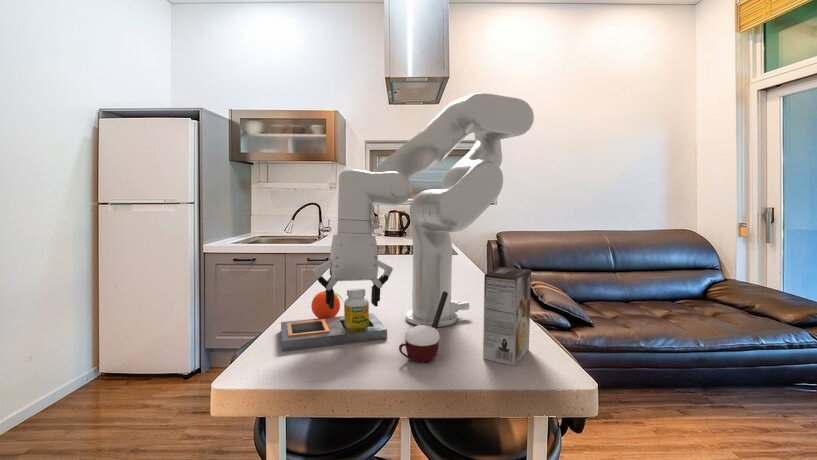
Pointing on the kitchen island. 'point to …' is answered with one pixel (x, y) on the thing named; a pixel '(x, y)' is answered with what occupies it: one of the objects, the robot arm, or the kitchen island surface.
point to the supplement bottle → (356, 309)
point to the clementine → (325, 306)
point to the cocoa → (424, 338)
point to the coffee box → (506, 315)
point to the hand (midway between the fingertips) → (353, 305)
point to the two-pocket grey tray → (328, 332)
